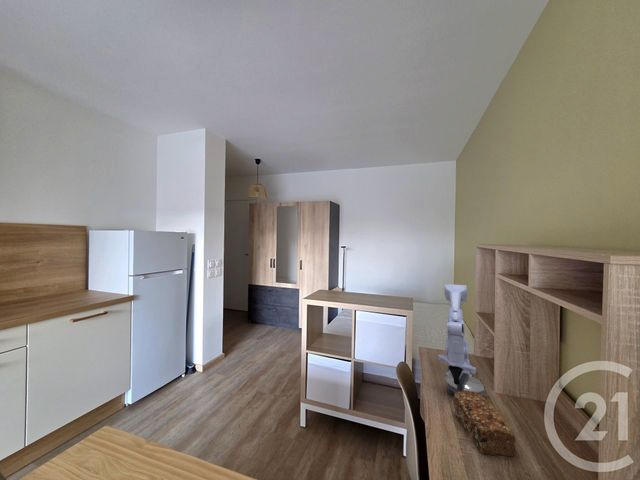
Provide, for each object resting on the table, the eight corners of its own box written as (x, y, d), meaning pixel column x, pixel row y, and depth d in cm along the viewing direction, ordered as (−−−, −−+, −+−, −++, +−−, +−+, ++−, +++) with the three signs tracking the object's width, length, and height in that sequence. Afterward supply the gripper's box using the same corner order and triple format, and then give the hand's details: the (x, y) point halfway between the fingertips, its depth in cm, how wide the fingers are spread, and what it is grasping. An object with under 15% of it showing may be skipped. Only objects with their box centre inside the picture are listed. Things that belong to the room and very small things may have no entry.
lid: (450, 371, 115) (450, 365, 115) (486, 382, 106) (485, 375, 106) (441, 386, 103) (440, 378, 103) (480, 399, 94) (480, 391, 94)
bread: (453, 414, 93) (452, 387, 93) (483, 415, 91) (482, 388, 92) (480, 456, 74) (479, 422, 74) (518, 459, 73) (517, 425, 73)
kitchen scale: (443, 382, 114) (443, 373, 114) (477, 386, 110) (477, 377, 110) (453, 407, 96) (452, 396, 96) (493, 413, 92) (492, 402, 92)
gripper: (434, 347, 106) (434, 378, 106) (469, 359, 94) (470, 395, 94) (442, 343, 110) (443, 373, 110) (478, 355, 98) (479, 389, 98)
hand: (456, 383), depth 102 cm, fingers closed, pressing on lid
